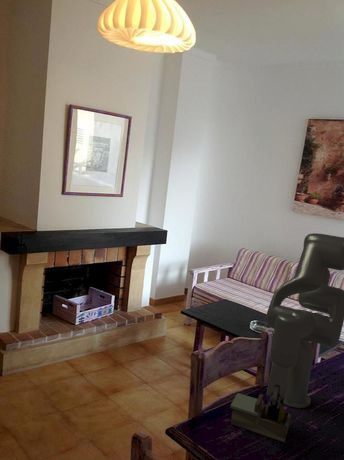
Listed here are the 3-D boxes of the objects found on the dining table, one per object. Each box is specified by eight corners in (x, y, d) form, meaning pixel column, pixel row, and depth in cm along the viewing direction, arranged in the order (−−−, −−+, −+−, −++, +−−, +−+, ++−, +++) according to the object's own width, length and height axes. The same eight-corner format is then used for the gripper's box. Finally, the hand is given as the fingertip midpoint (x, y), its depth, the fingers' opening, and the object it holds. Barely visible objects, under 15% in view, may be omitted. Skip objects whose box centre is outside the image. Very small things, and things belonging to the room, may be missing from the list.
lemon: (263, 427, 123) (267, 402, 122) (263, 417, 128) (267, 393, 127) (282, 432, 121) (286, 406, 120) (281, 421, 127) (285, 397, 126)
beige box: (237, 409, 133) (239, 396, 132) (288, 426, 127) (291, 412, 126) (230, 423, 125) (232, 409, 124) (284, 442, 119) (287, 427, 118)
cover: (237, 395, 133) (238, 385, 132) (263, 403, 129) (264, 393, 129) (230, 407, 125) (231, 397, 124) (257, 416, 121) (259, 406, 121)
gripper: (275, 344, 131) (267, 394, 133) (265, 364, 115) (256, 421, 117) (299, 350, 128) (291, 402, 130) (293, 371, 112) (283, 430, 114)
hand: (274, 411), depth 124 cm, fingers open, 9 cm apart
